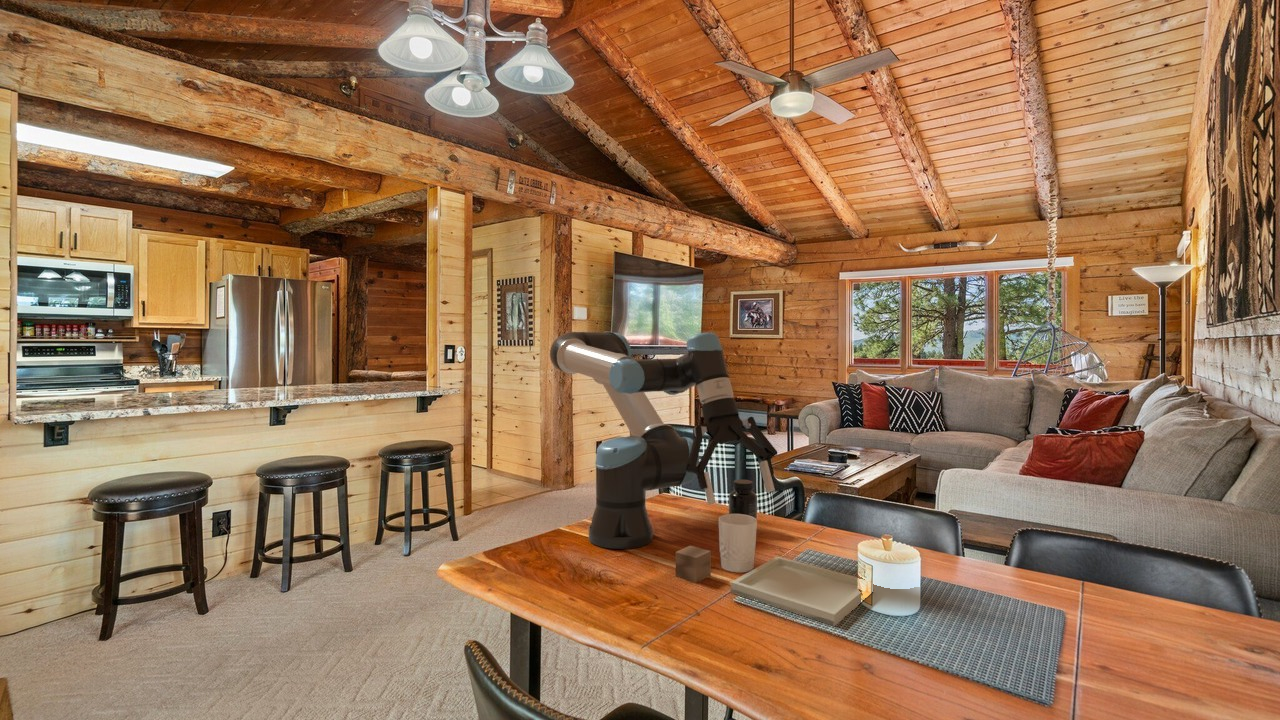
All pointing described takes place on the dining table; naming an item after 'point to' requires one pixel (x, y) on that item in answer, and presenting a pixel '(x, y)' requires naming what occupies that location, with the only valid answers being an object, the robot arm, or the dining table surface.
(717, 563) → the dining table surface
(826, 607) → the tray
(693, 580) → the walnut block
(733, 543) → the white cup
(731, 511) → the supplement bottle
